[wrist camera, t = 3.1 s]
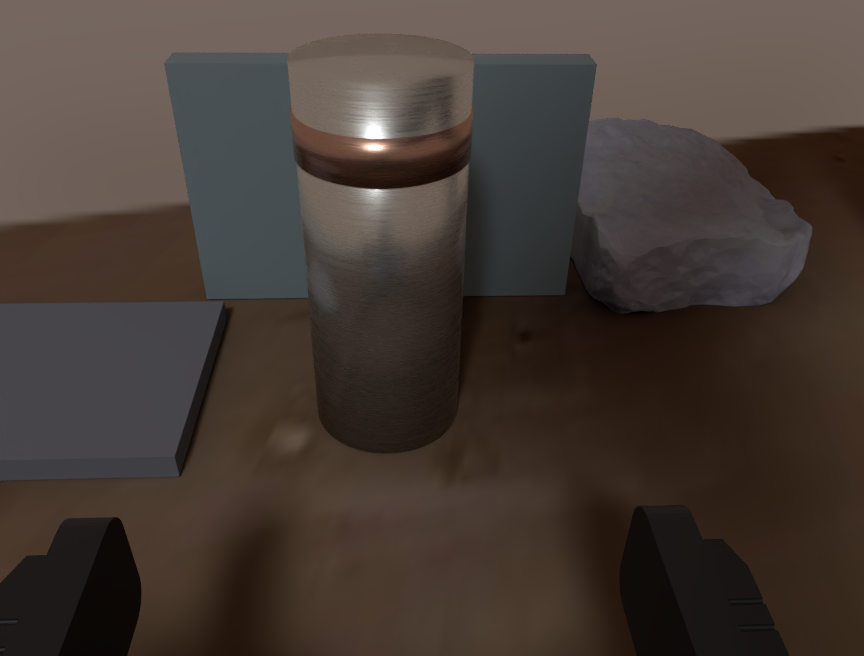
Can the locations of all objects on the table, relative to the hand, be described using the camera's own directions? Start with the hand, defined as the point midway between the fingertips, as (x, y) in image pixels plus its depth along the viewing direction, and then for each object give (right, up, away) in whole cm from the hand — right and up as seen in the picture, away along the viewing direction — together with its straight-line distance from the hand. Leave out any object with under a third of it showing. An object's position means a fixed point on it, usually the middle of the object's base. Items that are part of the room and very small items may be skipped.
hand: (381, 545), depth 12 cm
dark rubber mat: (-11, +1, +13) cm, 17 cm away
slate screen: (-1, +5, +18) cm, 19 cm away
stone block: (+11, +7, +23) cm, 26 cm away
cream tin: (-1, +1, +13) cm, 13 cm away
